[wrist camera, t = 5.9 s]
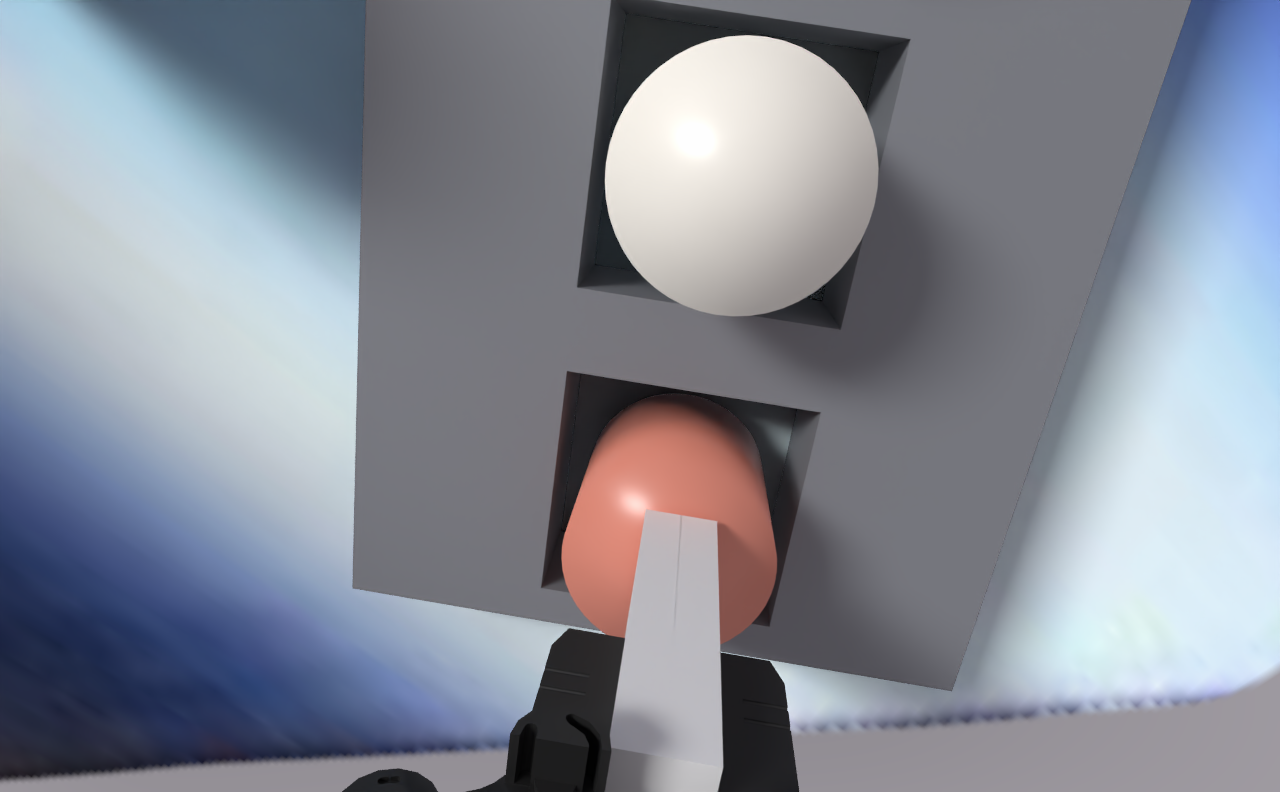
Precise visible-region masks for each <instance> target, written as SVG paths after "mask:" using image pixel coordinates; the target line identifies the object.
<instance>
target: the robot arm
mask: <svg viewBox="0 0 1280 792" xmlns="http://www.w3.org/2000/svg"><path fill="white" fill-rule="evenodd" d="M787 707H788V706H787V699H786V692H785V685H784V682H783V681H782V679H781V678H780V676H779V675H778V673H777V672H776V670H775V668H774V667H773V665H772V664H771V662H770V661H766V660H761V659H755V658H749V657H743V656H737V655H732V654H726V653H720V618H719V579H718V539H717V521H713V520H707V519H701V518H695V517H689V516H683V515H677V514H671V513H666V512H660V511H654V510H648V509H646V512H645V518H644V524H643V530H642V536H641V542H640V548H639V554H638V560H637V566H636V572H635V578H634V584H633V590H632V596H631V602H630V608H629V614H628V620H627V626H626V633H625V638H622V637H616V636H610V635H604V634H599V633H593V632H587V631H581V630H576V629H570V628H569V629H568V630H567V631H566V632H565V633H564V634H563V635H562V636H561V637H560V638H559V639H558V640H556V641H555V642H554V643H553V644H552V646H551V649H550V653H549V656H548V660H547V663H546V666H545V671H544V673H543V676H542V680H541V683H540V688H539V690H538V693H537V697H536V700H535V703H534V707H533V710H532V711H531V712H530V713H528V714H527V715H525V716H524V717H522V718H521V719H520V720H518V722H517V724H516V725H515V727H514V728H513V730H512V732H511V733H510V741H509V750H508V760H507V769H506V775H504V776H503V777H502V778H500V779H499V780H497V781H496V782H495V783H493V784H490V785H488V786H486V787H483V788H481V789H477V790H472V791H467V792H799V786H798V780H797V773H796V765H795V757H794V750H793V743H792V736H791V731H790V721H789V714H788V711H787ZM342 792H438V791H437V790H436V788H435V787H434V784H433V783H432V782H431V781H429V780H428V779H427V778H425V777H423V776H422V775H420V774H419V773H417V772H412V771H408V770H403V769H389V770H378V771H376V772H373V773H371V774H368V775H366V776H363V777H361V778H358V779H357V780H356V781H355V782H353V783H352V784H351V785H350V786H349V787H347V788H346V789H345V790H344V791H342Z"/></svg>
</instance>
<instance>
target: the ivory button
mask: <svg viewBox="0 0 1280 792" xmlns="http://www.w3.org/2000/svg"><path fill="white" fill-rule="evenodd" d="M878 169H879V167H878V156H877V147H876V143H875V138H874V134H873V130H872V127H871V124H870V122H869V119H868V116H867V113H866V112H865V110H864V108H863V106H862V104H861V102H860V100H859V98H858V97H857V95H856V94H855V92H854V91H853V90H852V88H851V87H850V86H849V84H848V83H847V82H846V80H845V79H844V78H843V77H842V76H841V75H840V74H839V73H838V72H837V71H836V70H835V69H834V68H833V67H831V66H830V65H829V64H827V63H826V62H825V61H824V60H822V59H821V58H820V57H818V56H816V55H815V54H813V53H811V52H809V51H808V50H806V49H804V48H802V47H800V46H797V45H794V44H792V43H789V42H787V41H783V40H779V39H774V38H770V37H764V36H751V35H744V36H728V37H724V38H719V39H714V40H710V41H707V42H704V43H701V44H698V45H696V46H693V47H691V48H689V49H687V50H685V51H683V52H681V53H679V54H677V55H675V56H674V57H672V58H671V59H670V60H668V61H667V62H665V63H664V64H662V65H661V66H660V67H659V68H657V69H656V70H655V71H654V72H653V73H652V74H651V75H650V76H649V77H648V78H647V79H646V80H645V81H644V82H643V83H642V84H641V86H640V87H639V88H638V89H637V90H636V92H635V93H634V94H633V95H632V97H631V99H630V100H629V102H628V103H627V105H626V106H625V108H624V110H623V111H622V114H621V116H620V118H619V120H618V122H617V124H616V126H615V129H614V132H613V135H612V138H611V141H610V145H609V150H608V155H607V160H606V170H605V192H606V202H607V207H608V212H609V217H610V220H611V223H612V226H613V229H614V232H615V235H616V237H617V239H618V241H619V243H620V245H621V247H622V249H623V251H624V253H625V254H626V256H627V257H628V259H629V260H630V262H631V263H632V265H633V266H634V267H635V268H636V269H637V271H638V272H639V273H640V274H641V275H642V276H643V277H644V278H645V279H646V280H647V281H648V282H649V283H650V284H651V285H652V286H653V287H655V288H656V289H657V290H659V291H660V292H662V293H663V294H664V295H666V296H667V297H669V298H671V299H672V300H674V301H676V302H678V303H680V304H682V305H684V306H687V307H689V308H692V309H695V310H698V311H701V312H705V313H710V314H714V315H723V316H752V315H758V314H764V313H769V312H772V311H776V310H779V309H782V308H785V307H787V306H789V305H792V304H794V303H796V302H799V301H800V300H802V299H804V298H805V297H807V296H809V295H811V294H812V293H814V292H815V291H817V290H818V289H819V288H820V287H822V286H823V285H824V284H826V283H827V282H828V281H829V280H830V279H831V278H832V277H833V276H834V275H835V274H836V273H837V272H838V271H839V270H840V269H841V268H842V267H843V266H844V264H845V263H846V262H847V261H848V259H849V258H850V257H851V256H852V254H853V252H854V251H855V249H856V248H857V246H858V244H859V243H860V241H861V239H862V237H863V235H864V233H865V230H866V228H867V226H868V224H869V221H870V218H871V215H872V211H873V208H874V205H875V199H876V193H877V188H878Z"/></svg>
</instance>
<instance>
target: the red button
mask: <svg viewBox="0 0 1280 792" xmlns="http://www.w3.org/2000/svg"><path fill="white" fill-rule="evenodd" d="M646 509H648V510H654V511H660V512H666V513H671V514H677V515H683V516H689V517H695V518H701V519H707V520H713V521H717V539H718V579H719V618H720V644H723V643H725V642H727V641H729V640H731V639H732V638H734V637H735V636H737V635H738V634H740V633H741V632H742V631H744V630H745V629H746V628H747V627H748V626H750V625H751V624H752V622H753V621H754V620H755V619H756V618H757V617H758V616H759V614H760V613H761V612H762V610H763V609H764V607H765V606H766V604H767V602H768V600H769V598H770V596H771V593H772V590H773V587H774V584H775V579H776V573H777V554H776V547H775V541H774V535H773V529H772V523H771V517H770V511H769V505H768V499H767V493H766V487H765V480H764V474H763V468H762V462H761V457H760V454H759V450H758V447H757V445H756V443H755V441H754V439H753V437H752V435H751V434H750V432H749V431H748V429H747V428H746V427H745V426H744V424H743V423H742V422H741V421H740V420H739V419H738V418H737V417H736V416H735V415H734V414H732V413H731V412H730V411H728V410H727V409H725V408H724V407H722V406H720V405H719V404H717V403H715V402H713V401H710V400H707V399H705V398H702V397H698V396H693V395H688V394H662V395H655V396H651V397H648V398H644V399H642V400H639V401H637V402H635V403H633V404H631V405H629V406H628V407H626V408H624V409H623V410H622V411H620V412H619V413H618V414H616V415H615V416H614V417H613V418H612V419H611V420H610V421H609V422H608V424H607V425H606V426H605V428H604V429H603V430H602V432H601V434H600V435H599V437H598V439H597V441H596V444H595V447H594V449H593V452H592V455H591V458H590V461H589V464H588V467H587V470H586V473H585V476H584V479H583V482H582V485H581V487H580V490H579V493H578V496H577V499H576V502H575V505H574V508H573V511H572V514H571V517H570V520H569V523H568V526H567V529H566V532H565V535H564V540H563V544H562V558H561V559H562V569H563V574H564V578H565V582H566V585H567V587H568V590H569V592H570V595H571V596H572V598H573V600H574V602H575V603H576V605H577V606H578V608H579V609H580V610H581V612H582V613H583V614H584V616H585V617H586V618H587V619H588V620H589V621H590V622H591V623H592V624H593V625H594V626H596V627H597V628H598V629H599V630H601V631H602V632H603V633H605V634H606V635H610V636H616V637H622V638H625V633H626V626H627V620H628V614H629V608H630V602H631V596H632V590H633V584H634V578H635V572H636V566H637V560H638V554H639V548H640V542H641V536H642V530H643V524H644V518H645V512H646Z"/></svg>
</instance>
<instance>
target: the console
mask: <svg viewBox="0 0 1280 792" xmlns="http://www.w3.org/2000/svg"><path fill="white" fill-rule="evenodd" d="M1190 3H1191V0H366V14H365V58H364V102H363V146H362V191H361V235H360V279H359V323H358V368H357V412H356V456H355V501H354V545H353V588H354V589H360V590H366V591H372V592H377V593H383V594H389V595H395V596H401V597H407V598H412V599H418V600H424V601H430V602H436V603H441V604H447V605H453V606H459V607H465V608H471V609H476V610H482V611H488V612H494V613H500V614H506V615H511V616H517V617H523V618H529V619H535V620H541V621H546V622H552V623H558V624H564V625H570V626H575V627H581V628H587V629H593V630H599V629H598V628H597V627H596V626H594V625H593V624H592V623H591V622H590V621H589V620H588V619H587V618H586V617H585V616H584V614H583V613H582V612H581V610H580V609H579V608H578V606H577V605H576V603H575V602H574V600H573V598H572V596H571V595H570V592H569V590H568V587H567V585H566V582H565V578H564V574H563V569H562V559H561V558H562V544H563V540H564V535H565V532H563V531H561V527H562V519H563V511H564V503H565V495H566V487H567V479H568V471H569V463H570V455H571V448H572V440H573V432H574V424H575V416H576V408H577V400H578V392H579V384H580V376H581V373H582V374H588V375H595V376H601V377H607V378H613V379H619V380H625V381H631V382H637V383H644V384H650V385H656V386H662V387H668V388H674V389H680V390H686V391H693V392H699V393H705V394H711V395H717V396H723V397H729V398H735V399H742V400H748V401H754V402H760V403H766V404H772V405H778V406H784V407H791V408H797V412H796V417H795V421H794V426H793V430H792V434H791V439H790V443H789V447H788V452H787V456H786V461H785V465H784V469H783V474H782V478H781V482H780V487H779V491H778V496H777V500H776V504H775V509H774V513H773V517H772V522H771V523H772V529H773V535H774V541H775V547H776V554H777V573H776V579H775V584H774V587H773V590H772V593H771V596H770V598H769V600H768V602H767V604H766V606H765V607H764V609H763V610H762V612H761V613H760V614H759V616H758V617H757V618H756V619H755V620H754V621H753V622H752V624H751V625H750V626H748V627H747V628H746V629H745V630H744V631H742V632H741V633H740V634H738V635H737V636H735V637H734V638H732V639H731V640H729V641H727V642H725V643H723V644H720V651H721V652H727V653H733V654H739V655H744V656H750V657H756V658H762V659H768V660H774V661H779V662H785V663H791V664H797V665H803V666H809V667H814V668H820V669H826V670H832V671H838V672H843V673H849V674H855V675H861V676H867V677H873V678H878V679H884V680H890V681H896V682H902V683H908V684H913V685H919V686H925V687H931V688H937V689H943V690H948V691H952V689H953V686H954V683H955V680H956V677H957V674H958V671H959V669H960V666H961V663H962V660H963V657H964V654H965V651H966V648H967V646H968V643H969V640H970V637H971V634H972V631H973V628H974V625H975V622H976V620H977V617H978V614H979V611H980V608H981V605H982V602H983V599H984V597H985V594H986V591H987V588H988V585H989V582H990V579H991V576H992V573H993V571H994V568H995V565H996V562H997V559H998V556H999V553H1000V550H1001V548H1002V545H1003V542H1004V539H1005V536H1006V533H1007V530H1008V527H1009V524H1010V522H1011V519H1012V516H1013V513H1014V510H1015V507H1016V504H1017V501H1018V499H1019V496H1020V493H1021V490H1022V487H1023V484H1024V481H1025V478H1026V475H1027V473H1028V470H1029V467H1030V464H1031V461H1032V458H1033V455H1034V452H1035V449H1036V447H1037V444H1038V441H1039V438H1040V435H1041V432H1042V429H1043V426H1044V424H1045V421H1046V418H1047V415H1048V412H1049V409H1050V406H1051V403H1052V400H1053V398H1054V395H1055V392H1056V389H1057V386H1058V383H1059V380H1060V377H1061V375H1062V372H1063V369H1064V366H1065V363H1066V360H1067V357H1068V354H1069V351H1070V349H1071V346H1072V343H1073V340H1074V337H1075V334H1076V331H1077V328H1078V326H1079V323H1080V320H1081V317H1082V314H1083V311H1084V308H1085V305H1086V302H1087V300H1088V297H1089V294H1090V291H1091V288H1092V285H1093V282H1094V279H1095V277H1096V274H1097V271H1098V268H1099V265H1100V262H1101V259H1102V256H1103V253H1104V251H1105V248H1106V245H1107V242H1108V239H1109V236H1110V233H1111V230H1112V228H1113V225H1114V222H1115V219H1116V216H1117V213H1118V210H1119V207H1120V204H1121V202H1122V199H1123V196H1124V193H1125V190H1126V187H1127V184H1128V181H1129V179H1130V176H1131V173H1132V170H1133V167H1134V164H1135V161H1136V158H1137V155H1138V153H1139V150H1140V147H1141V144H1142V141H1143V138H1144V135H1145V132H1146V130H1147V127H1148V124H1149V121H1150V118H1151V115H1152V112H1153V109H1154V106H1155V104H1156V101H1157V98H1158V95H1159V92H1160V89H1161V86H1162V83H1163V81H1164V78H1165V75H1166V72H1167V69H1168V66H1169V63H1170V60H1171V57H1172V55H1173V52H1174V49H1175V46H1176V43H1177V40H1178V37H1179V34H1180V31H1181V29H1182V26H1183V23H1184V20H1185V17H1186V14H1187V11H1188V8H1189V6H1190ZM626 14H633V15H640V16H646V17H653V18H659V19H666V20H673V21H679V22H686V23H693V24H699V25H706V26H712V27H719V28H726V29H732V30H739V31H745V32H752V33H759V34H765V35H772V36H779V37H785V38H792V39H798V40H805V41H812V42H818V43H825V44H831V45H838V46H845V47H851V48H858V49H865V50H871V51H878V52H879V54H878V59H877V63H876V67H875V72H874V76H873V80H872V85H871V89H870V94H869V98H868V102H867V107H866V111H865V112H866V113H867V116H868V119H869V122H870V124H871V127H872V130H873V134H874V138H875V143H876V147H877V156H878V167H879V169H878V188H877V193H876V199H875V205H874V208H873V211H872V215H871V218H870V221H869V224H868V226H867V228H866V230H865V233H864V235H863V237H862V239H861V241H860V243H859V244H858V246H857V248H856V249H855V251H854V252H853V254H852V256H851V257H850V258H849V259H848V261H847V262H846V263H845V264H844V266H843V267H842V268H841V269H840V270H839V271H838V272H837V273H836V274H835V275H834V276H833V277H832V278H831V279H830V280H829V281H828V282H827V283H826V286H825V290H824V295H823V299H822V301H819V300H813V299H807V298H804V299H802V300H800V301H799V302H796V303H794V304H792V305H789V306H787V307H785V308H782V309H779V310H776V311H772V312H769V313H764V314H758V315H752V316H723V315H714V314H710V313H705V312H701V311H698V310H695V309H692V308H689V307H687V306H684V305H682V304H680V303H678V302H676V301H674V300H672V299H671V298H669V297H667V296H666V295H664V294H663V293H662V292H660V291H659V290H657V289H656V288H655V287H653V286H652V285H651V284H650V283H649V282H648V281H647V280H646V279H645V278H644V277H643V276H642V275H641V274H640V273H639V272H637V271H631V270H625V269H619V268H612V267H606V266H600V265H594V264H595V256H596V248H597V240H598V232H599V224H600V216H601V208H602V200H603V192H604V184H605V170H606V160H607V155H608V150H609V145H610V137H611V129H612V121H613V113H614V105H615V97H616V89H617V81H618V73H619V65H620V57H621V49H622V41H623V33H624V25H625V17H626ZM599 631H601V630H599Z"/></svg>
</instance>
